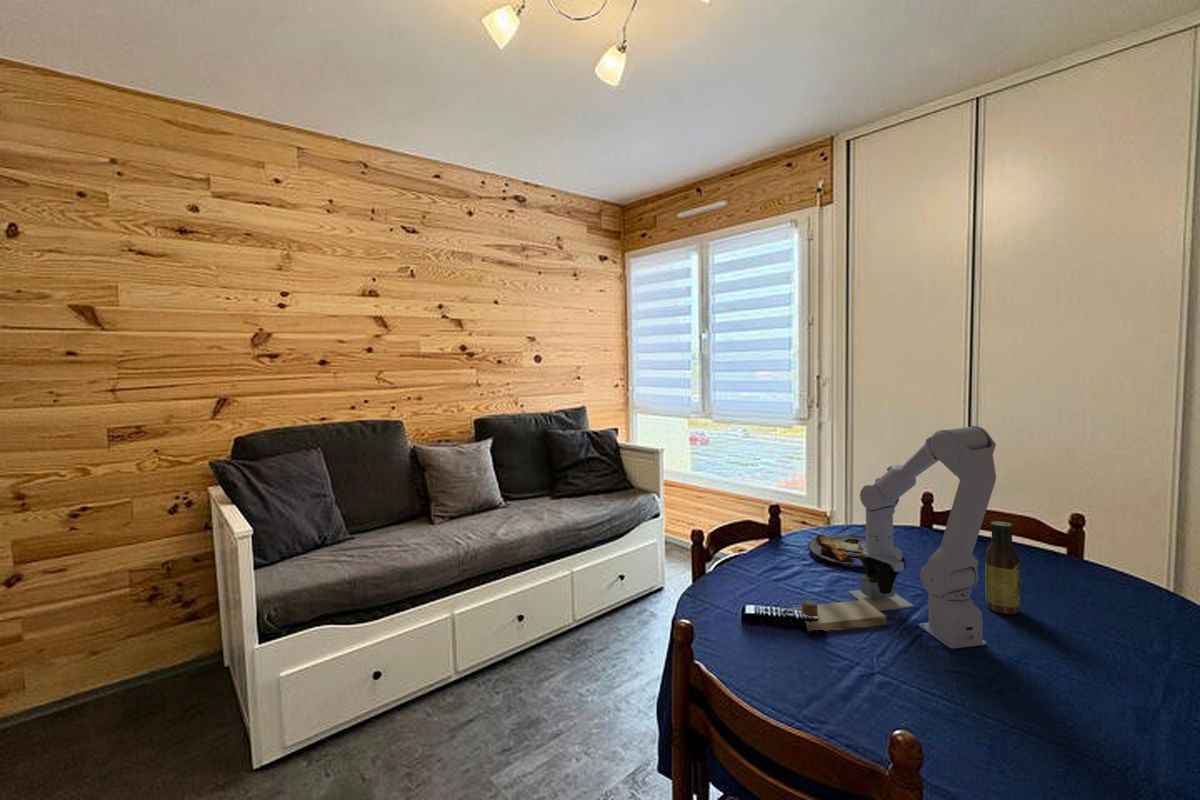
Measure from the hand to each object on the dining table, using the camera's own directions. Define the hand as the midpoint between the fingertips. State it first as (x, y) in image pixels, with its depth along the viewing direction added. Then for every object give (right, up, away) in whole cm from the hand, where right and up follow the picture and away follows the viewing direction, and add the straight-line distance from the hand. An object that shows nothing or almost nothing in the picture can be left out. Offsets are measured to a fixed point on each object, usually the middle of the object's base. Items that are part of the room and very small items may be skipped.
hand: (879, 588), depth 129 cm
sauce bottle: (+24, -2, -7) cm, 25 cm away
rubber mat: (0, -3, 0) cm, 3 cm away
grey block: (0, -1, 0) cm, 1 cm away
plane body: (-14, -4, -8) cm, 17 cm away
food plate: (+7, 0, +28) cm, 29 cm away
